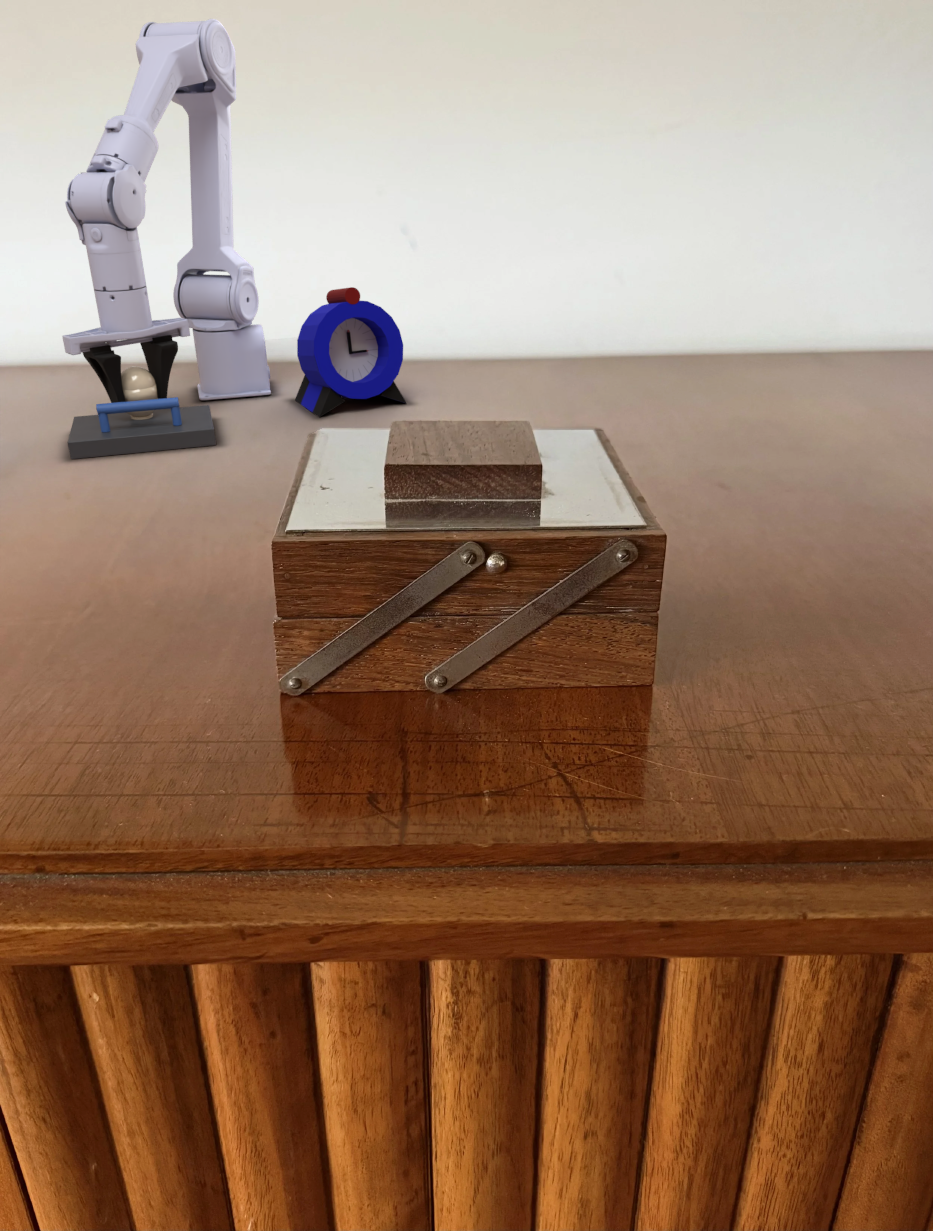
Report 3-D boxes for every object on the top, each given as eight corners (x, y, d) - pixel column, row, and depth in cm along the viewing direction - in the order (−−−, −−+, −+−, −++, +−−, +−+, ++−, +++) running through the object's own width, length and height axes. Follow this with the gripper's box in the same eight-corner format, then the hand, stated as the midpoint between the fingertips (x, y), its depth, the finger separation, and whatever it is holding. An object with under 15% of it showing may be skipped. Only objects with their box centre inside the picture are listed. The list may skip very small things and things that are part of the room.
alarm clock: (321, 418, 124) (310, 294, 117) (289, 396, 133) (278, 280, 127) (409, 405, 129) (404, 285, 122) (373, 384, 138) (366, 272, 132)
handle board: (211, 420, 124) (205, 378, 122) (216, 445, 114) (210, 400, 112) (77, 432, 120) (68, 390, 118) (70, 459, 111) (61, 413, 108)
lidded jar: (150, 409, 121) (142, 360, 119) (167, 416, 118) (159, 366, 116) (116, 416, 119) (107, 366, 116) (133, 424, 116) (124, 373, 113)
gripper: (162, 276, 119) (179, 388, 125) (43, 291, 110) (67, 411, 116) (191, 282, 114) (207, 398, 120) (68, 298, 105) (92, 423, 112)
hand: (140, 405), depth 118 cm, fingers open, 5 cm apart
